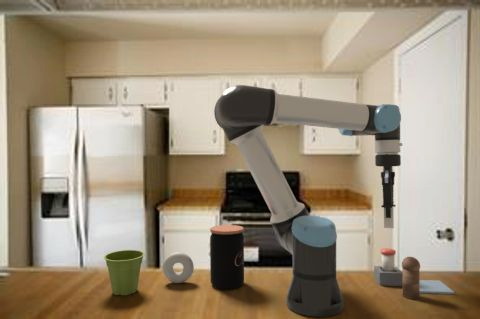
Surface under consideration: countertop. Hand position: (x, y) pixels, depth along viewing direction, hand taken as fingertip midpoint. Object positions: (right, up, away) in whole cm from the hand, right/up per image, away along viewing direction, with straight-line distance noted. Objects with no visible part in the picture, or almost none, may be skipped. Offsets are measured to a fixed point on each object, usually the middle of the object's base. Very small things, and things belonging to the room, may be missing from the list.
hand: (388, 227), depth 117 cm
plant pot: (-82, -19, -6) cm, 85 cm away
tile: (+10, -17, -5) cm, 21 cm away
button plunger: (0, -15, 0) cm, 15 cm away
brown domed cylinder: (+1, -18, -12) cm, 21 cm away
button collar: (0, -18, 0) cm, 18 cm away
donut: (-68, -18, +1) cm, 70 cm away
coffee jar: (-52, -18, -1) cm, 55 cm away
